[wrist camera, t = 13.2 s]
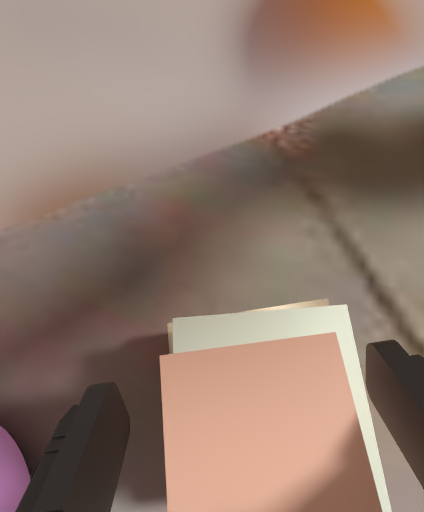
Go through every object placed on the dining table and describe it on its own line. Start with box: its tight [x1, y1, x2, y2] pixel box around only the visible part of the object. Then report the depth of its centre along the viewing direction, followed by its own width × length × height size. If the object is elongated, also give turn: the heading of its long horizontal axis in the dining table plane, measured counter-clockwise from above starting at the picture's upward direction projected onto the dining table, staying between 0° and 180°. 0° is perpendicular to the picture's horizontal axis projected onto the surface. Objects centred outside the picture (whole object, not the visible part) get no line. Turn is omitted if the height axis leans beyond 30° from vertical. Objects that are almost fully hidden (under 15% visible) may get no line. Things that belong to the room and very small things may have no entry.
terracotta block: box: [160, 332, 382, 512], centre depth 12 cm, size 5×5×9 cm
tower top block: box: [173, 305, 392, 512], centre depth 19 cm, size 10×10×5 cm
